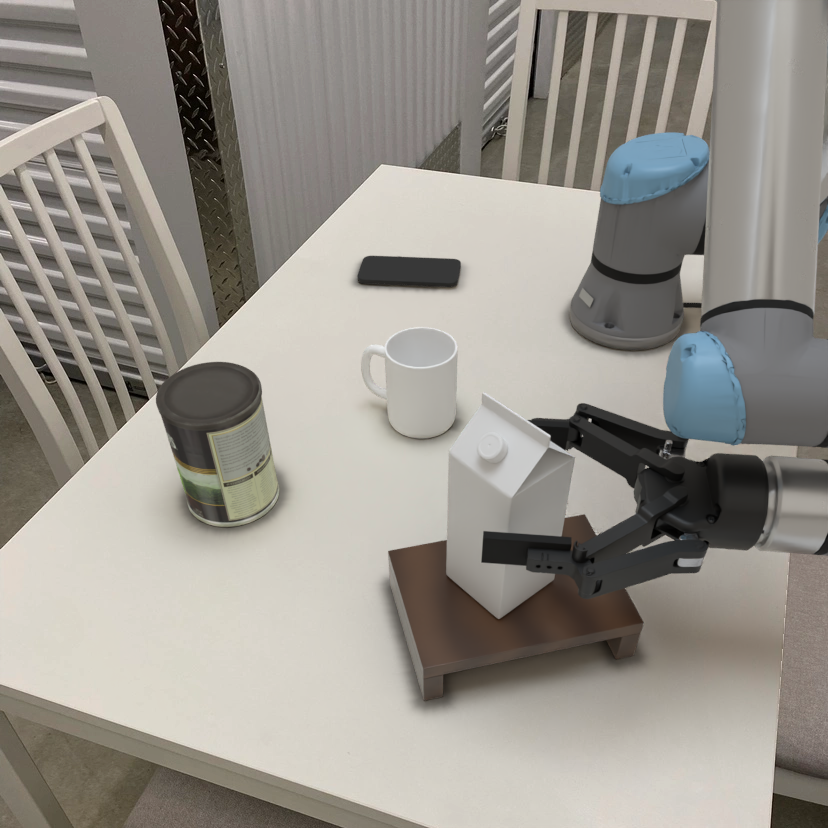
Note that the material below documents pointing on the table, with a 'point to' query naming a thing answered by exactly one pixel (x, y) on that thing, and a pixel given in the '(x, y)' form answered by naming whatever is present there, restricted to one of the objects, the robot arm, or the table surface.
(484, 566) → the milk carton
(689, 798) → the table surface
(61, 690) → the table surface
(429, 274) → the phone
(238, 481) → the coffee can
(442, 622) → the shelf
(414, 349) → the cup
